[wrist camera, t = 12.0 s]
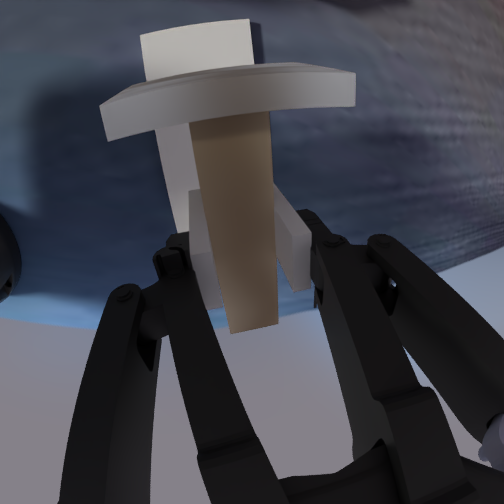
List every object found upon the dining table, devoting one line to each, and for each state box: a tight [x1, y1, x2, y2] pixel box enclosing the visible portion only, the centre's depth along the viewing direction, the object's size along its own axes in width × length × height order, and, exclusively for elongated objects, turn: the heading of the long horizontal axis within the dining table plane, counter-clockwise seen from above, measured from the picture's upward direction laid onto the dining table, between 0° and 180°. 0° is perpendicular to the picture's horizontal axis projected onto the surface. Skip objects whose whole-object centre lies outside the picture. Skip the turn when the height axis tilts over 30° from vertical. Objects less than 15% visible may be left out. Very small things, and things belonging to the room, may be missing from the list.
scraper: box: [99, 62, 356, 334], centre depth 14 cm, size 8×14×6 cm, turn 7°
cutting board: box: [140, 19, 254, 233], centre depth 28 cm, size 10×24×1 cm, turn 7°
